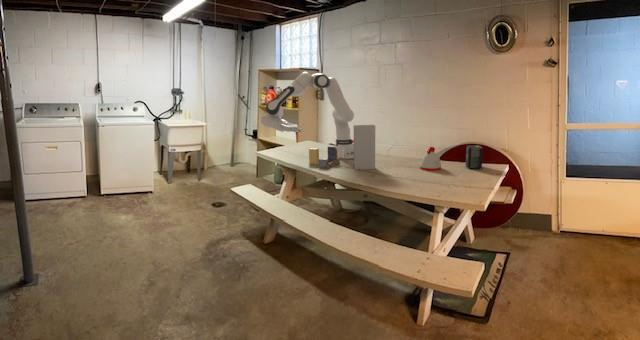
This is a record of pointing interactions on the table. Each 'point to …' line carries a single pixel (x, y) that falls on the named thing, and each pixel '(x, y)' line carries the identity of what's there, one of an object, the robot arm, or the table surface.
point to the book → (313, 155)
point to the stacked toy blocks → (332, 157)
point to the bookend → (323, 163)
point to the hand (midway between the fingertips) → (299, 131)
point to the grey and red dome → (430, 161)
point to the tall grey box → (364, 147)
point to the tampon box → (474, 156)
